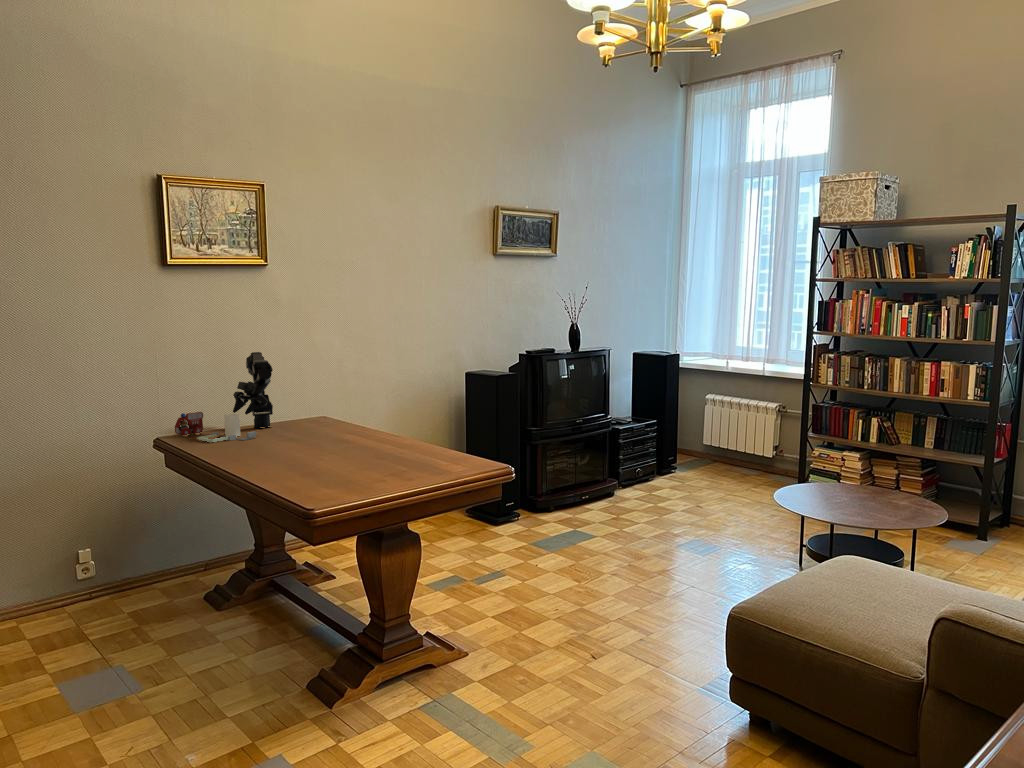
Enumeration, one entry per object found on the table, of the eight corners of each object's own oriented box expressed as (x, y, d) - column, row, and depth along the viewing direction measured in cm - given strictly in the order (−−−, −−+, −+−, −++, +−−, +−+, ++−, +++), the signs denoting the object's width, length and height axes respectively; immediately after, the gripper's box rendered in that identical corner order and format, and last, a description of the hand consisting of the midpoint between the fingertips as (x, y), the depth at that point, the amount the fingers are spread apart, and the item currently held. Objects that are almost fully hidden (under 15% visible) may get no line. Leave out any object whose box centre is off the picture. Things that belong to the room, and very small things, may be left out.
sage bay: (215, 437, 335) (215, 434, 334) (229, 439, 328) (229, 436, 328) (196, 440, 328) (196, 437, 327) (210, 443, 321) (210, 439, 321)
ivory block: (234, 435, 338) (233, 413, 337) (240, 436, 336) (239, 414, 334) (225, 437, 335) (224, 415, 334) (231, 438, 332) (229, 415, 331)
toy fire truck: (173, 436, 341) (171, 413, 340) (201, 432, 349) (200, 410, 348) (177, 438, 336) (176, 414, 335) (206, 434, 343) (204, 411, 342)
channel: (231, 431, 348) (230, 427, 348) (263, 437, 333) (263, 432, 333) (205, 436, 338) (204, 431, 338) (237, 441, 323) (236, 437, 322)
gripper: (235, 373, 345) (215, 400, 337) (260, 375, 334) (239, 403, 326) (251, 389, 352) (232, 415, 344) (276, 391, 341) (256, 419, 333)
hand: (239, 413), depth 337 cm, fingers open, 9 cm apart
